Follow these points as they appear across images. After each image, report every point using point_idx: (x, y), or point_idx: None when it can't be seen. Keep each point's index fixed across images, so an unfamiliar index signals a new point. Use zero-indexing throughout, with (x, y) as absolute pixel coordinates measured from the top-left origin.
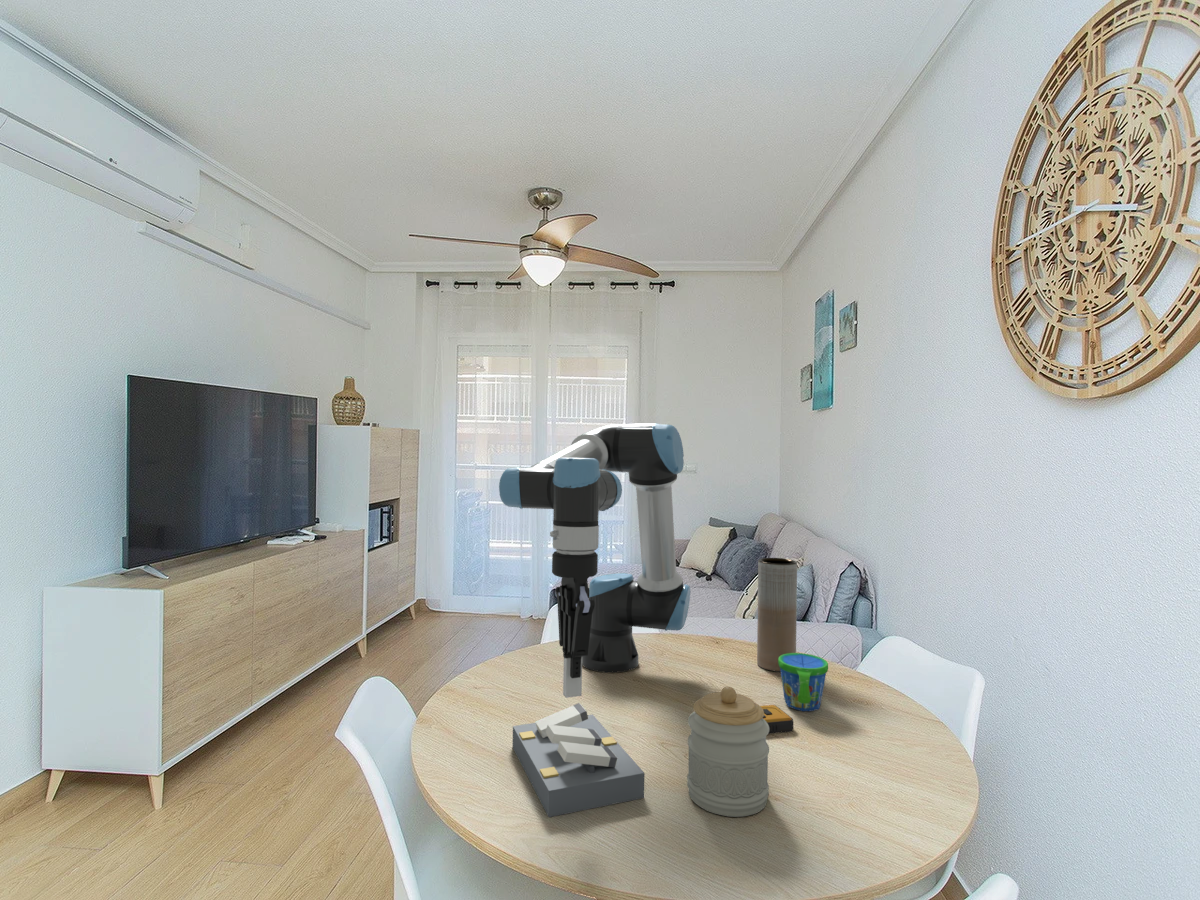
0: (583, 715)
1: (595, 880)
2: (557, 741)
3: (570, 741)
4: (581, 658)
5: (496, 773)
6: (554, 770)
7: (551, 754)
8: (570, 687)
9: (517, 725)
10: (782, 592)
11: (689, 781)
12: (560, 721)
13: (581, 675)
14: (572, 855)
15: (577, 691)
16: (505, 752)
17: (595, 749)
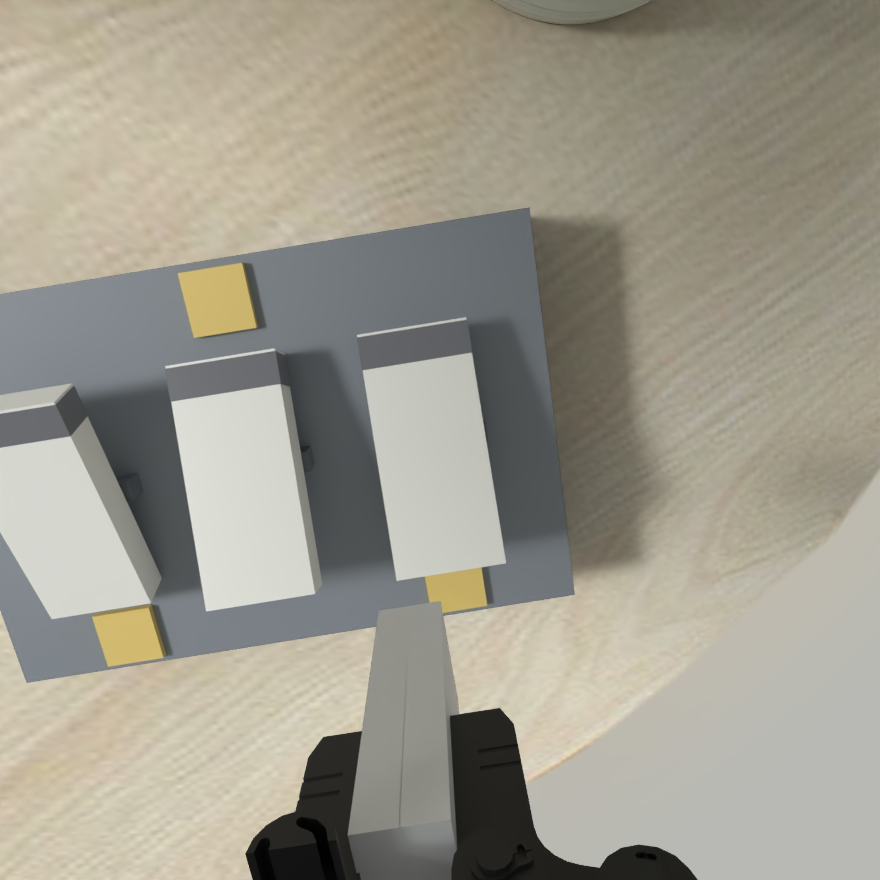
0: (72, 415)
1: (869, 470)
2: (316, 563)
3: (305, 503)
4: (447, 803)
5: (263, 689)
6: None
7: None
8: (455, 713)
9: (21, 664)
10: None
11: (570, 4)
12: (107, 526)
13: (445, 688)
14: (751, 512)
15: (446, 646)
16: None
17: (414, 412)
